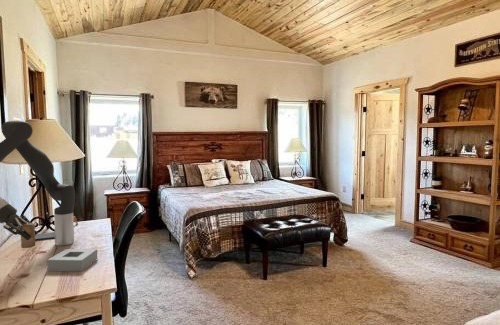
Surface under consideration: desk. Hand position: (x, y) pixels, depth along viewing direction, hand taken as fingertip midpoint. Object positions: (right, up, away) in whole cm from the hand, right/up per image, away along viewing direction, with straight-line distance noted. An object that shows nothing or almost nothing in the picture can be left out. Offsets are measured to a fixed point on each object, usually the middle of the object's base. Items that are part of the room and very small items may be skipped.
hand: (32, 236), depth 140 cm
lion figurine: (-29, -12, +79) cm, 85 cm away
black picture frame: (-29, -14, +54) cm, 63 cm away
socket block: (+12, -16, +11) cm, 22 cm away
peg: (-2, -4, 0) cm, 5 cm away
